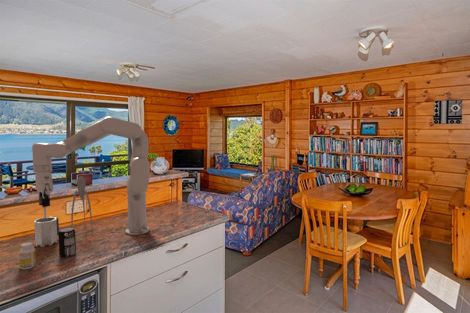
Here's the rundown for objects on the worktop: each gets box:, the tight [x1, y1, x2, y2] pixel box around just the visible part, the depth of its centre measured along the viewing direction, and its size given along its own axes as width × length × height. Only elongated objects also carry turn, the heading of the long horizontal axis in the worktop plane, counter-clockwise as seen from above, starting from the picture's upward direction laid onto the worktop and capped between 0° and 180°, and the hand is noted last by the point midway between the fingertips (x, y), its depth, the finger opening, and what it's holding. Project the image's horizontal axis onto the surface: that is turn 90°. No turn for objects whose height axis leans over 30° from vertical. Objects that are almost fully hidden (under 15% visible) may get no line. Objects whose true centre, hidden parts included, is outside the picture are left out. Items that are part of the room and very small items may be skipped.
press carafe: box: [33, 216, 60, 248], centre depth 144 cm, size 12×9×12 cm
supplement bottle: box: [18, 241, 37, 270], centre depth 119 cm, size 5×5×10 cm
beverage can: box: [57, 226, 77, 258], centre depth 130 cm, size 7×7×12 cm
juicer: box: [70, 176, 93, 230], centre depth 165 cm, size 10×9×30 cm
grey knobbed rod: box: [38, 196, 47, 222], centre depth 142 cm, size 6×6×18 cm
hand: (44, 205), depth 142 cm, fingers closed on grey knobbed rod, 4 cm apart
